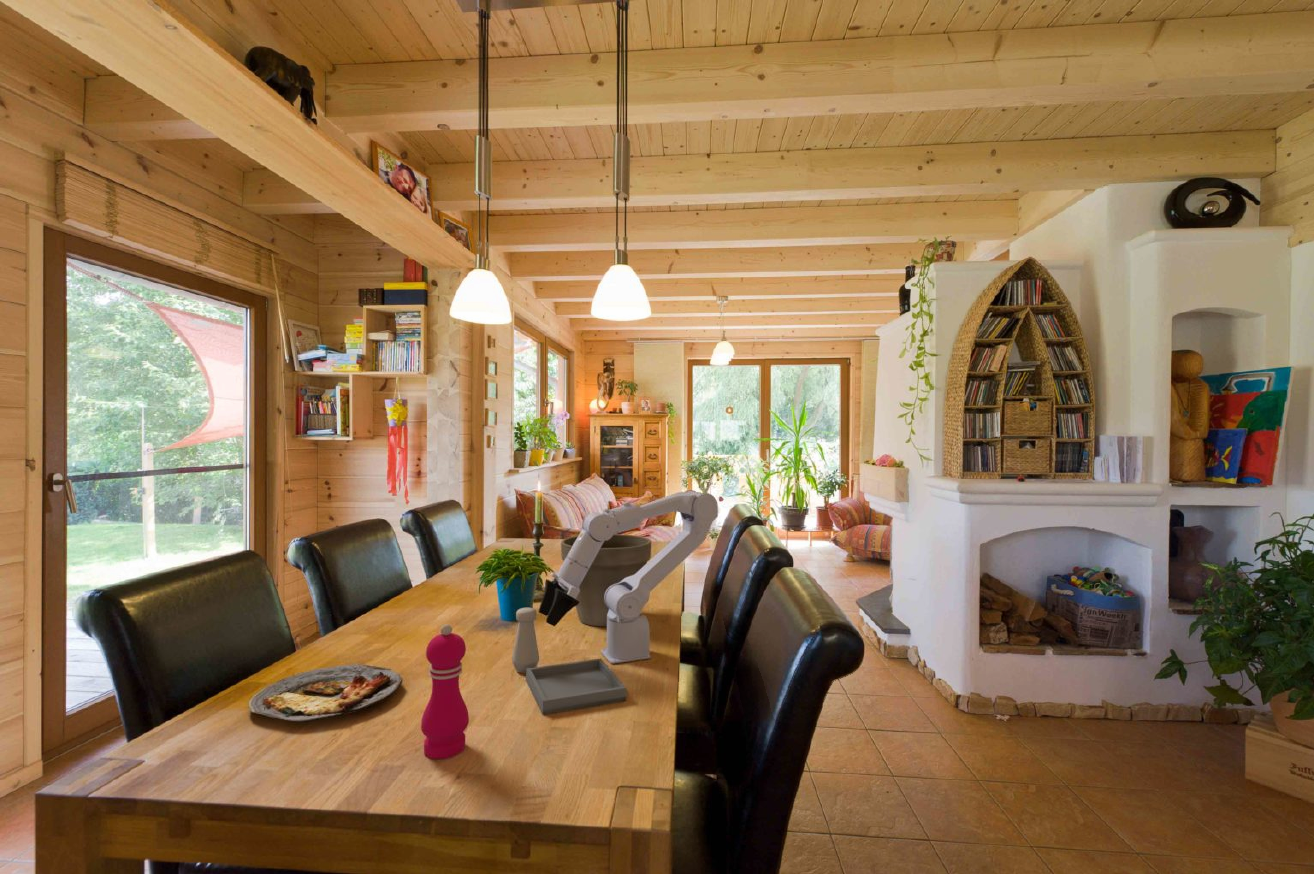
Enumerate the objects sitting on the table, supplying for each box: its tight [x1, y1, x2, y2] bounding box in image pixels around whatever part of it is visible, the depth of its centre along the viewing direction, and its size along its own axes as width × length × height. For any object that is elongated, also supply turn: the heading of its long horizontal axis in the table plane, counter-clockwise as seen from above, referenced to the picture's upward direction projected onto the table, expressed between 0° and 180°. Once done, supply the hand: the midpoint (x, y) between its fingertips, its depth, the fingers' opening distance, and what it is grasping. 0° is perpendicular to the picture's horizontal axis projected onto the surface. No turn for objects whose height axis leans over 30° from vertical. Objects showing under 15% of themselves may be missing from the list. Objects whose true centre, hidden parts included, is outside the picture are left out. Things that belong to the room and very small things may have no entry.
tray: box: [525, 657, 627, 716], centre depth 119 cm, size 16×16×2 cm
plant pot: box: [560, 533, 652, 627], centre depth 166 cm, size 25×25×22 cm
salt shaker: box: [511, 607, 540, 674], centre depth 129 cm, size 6×6×13 cm
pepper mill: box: [420, 623, 470, 760], centre depth 97 cm, size 7×7×20 cm
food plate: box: [248, 663, 403, 723], centre depth 114 cm, size 25×23×4 cm
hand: (546, 618), depth 131 cm, fingers open, 7 cm apart
